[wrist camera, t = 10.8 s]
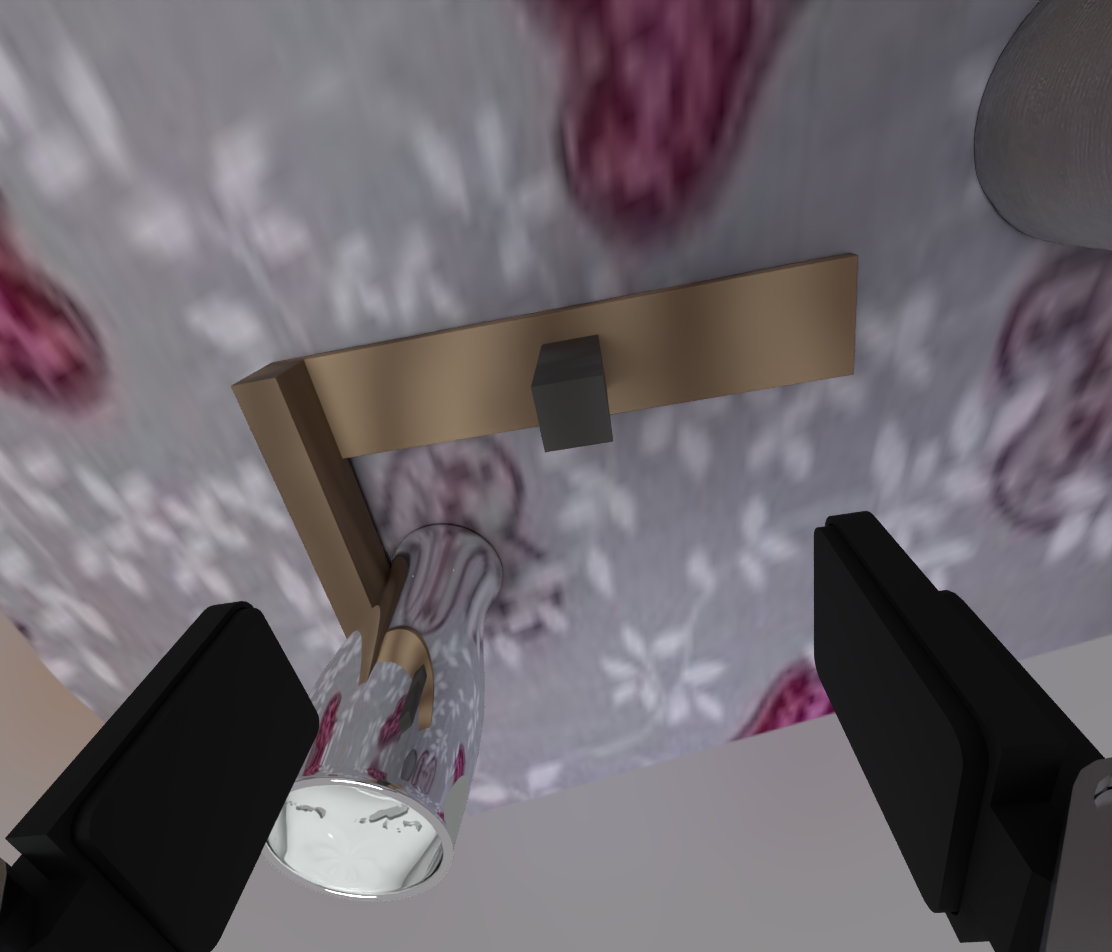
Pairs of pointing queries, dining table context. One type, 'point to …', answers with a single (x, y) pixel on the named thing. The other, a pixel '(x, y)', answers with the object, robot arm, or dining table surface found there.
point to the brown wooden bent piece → (529, 390)
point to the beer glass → (396, 730)
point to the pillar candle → (1052, 125)
